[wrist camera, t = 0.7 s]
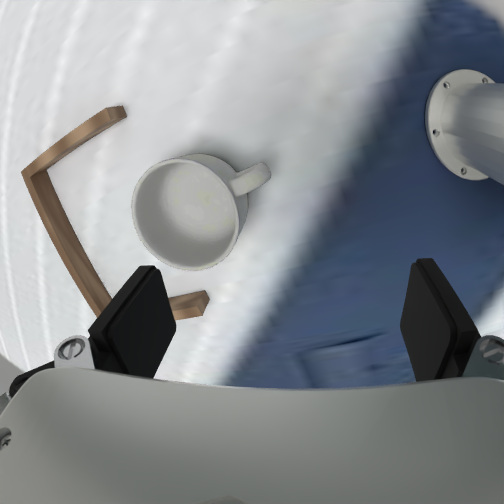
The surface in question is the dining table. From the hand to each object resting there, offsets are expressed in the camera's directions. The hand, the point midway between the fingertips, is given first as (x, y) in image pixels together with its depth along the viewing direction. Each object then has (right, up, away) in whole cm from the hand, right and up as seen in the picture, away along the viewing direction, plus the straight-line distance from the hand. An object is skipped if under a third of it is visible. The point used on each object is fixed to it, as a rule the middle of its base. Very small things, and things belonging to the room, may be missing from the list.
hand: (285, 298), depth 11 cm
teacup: (-5, +9, +23) cm, 25 cm away
